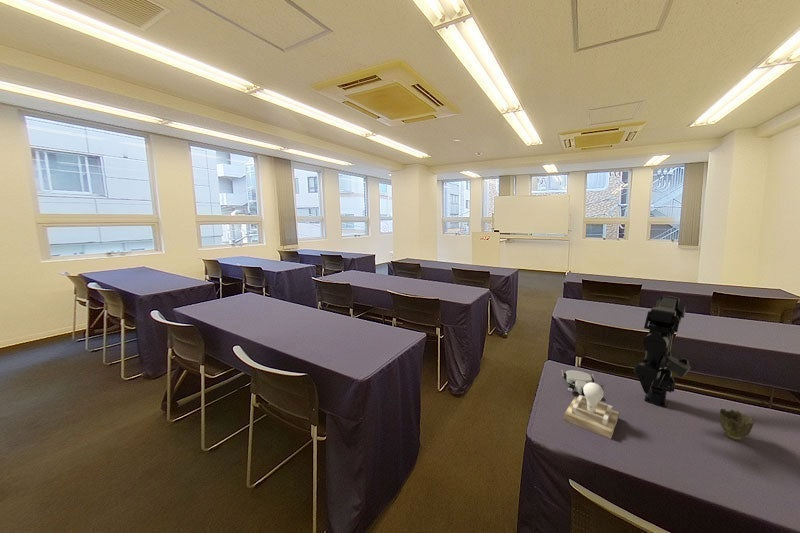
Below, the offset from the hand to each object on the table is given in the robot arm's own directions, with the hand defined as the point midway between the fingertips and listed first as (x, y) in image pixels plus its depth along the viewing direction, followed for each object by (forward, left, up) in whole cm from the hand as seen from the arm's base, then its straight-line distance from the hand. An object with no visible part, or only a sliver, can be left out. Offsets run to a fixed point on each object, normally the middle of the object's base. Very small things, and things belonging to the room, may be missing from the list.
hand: (651, 390), depth 104 cm
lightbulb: (+11, -15, -10) cm, 21 cm away
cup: (-10, +21, -13) cm, 27 cm away
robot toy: (-9, -23, -13) cm, 28 cm away
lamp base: (+11, -15, -13) cm, 22 cm away
